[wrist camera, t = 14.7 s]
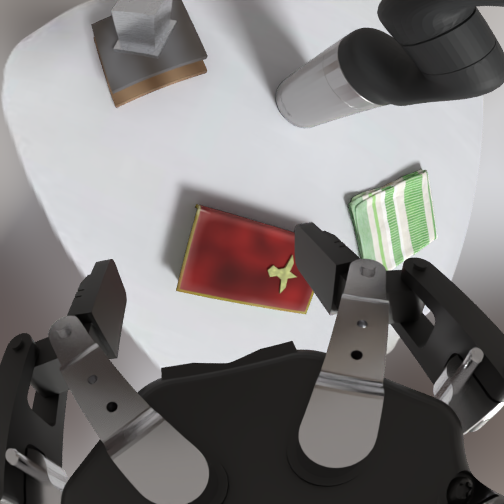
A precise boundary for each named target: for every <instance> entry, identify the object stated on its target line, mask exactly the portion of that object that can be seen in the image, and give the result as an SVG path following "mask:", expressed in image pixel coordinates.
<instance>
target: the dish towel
mask: <svg viewBox="0 0 504 504" xmlns="http://www.w3.org/2000/svg"><path fill="white" fill-rule="evenodd" d="M348 206H349V210H350V215H351V218H352V222H353V219H354V222H353V226H354V223H355V228H356V229H355V228H354V230H355V234H356V238H357V242H358V247H359V251H360V255H361V258H362V259H372V260H375V261H378V262H379V263H381V264H382V265H383V266H384V267H385V269H386V270H392V269H393V268H395V267H396V266H398V265H399V264H400V263H402V262H403V261H404V260H406V259H408V258H409V257H410V256H412V255H414V254H415V253H417V252H418V251H420V250H421V249H422V248H424V247H425V246H427V245H428V244H429V243H430V242H432V241H433V240H435V239H437V231H436V224H435V215H434V208H433V201H432V195H431V189H430V183H429V178H428V172H427V170H422V169H420V170H419V171H416V172H413V173H411V174H408V175H406V176H403V177H402V178H400V179H398V180H396V181H393V182H391V183H388V184H386V185H385V186H383V187H380V188H377V189H372V190H369V191H366V192H363V193H361V194H358V195H356V196H355V197H353V198H352V202H350V204H348Z"/></svg>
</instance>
